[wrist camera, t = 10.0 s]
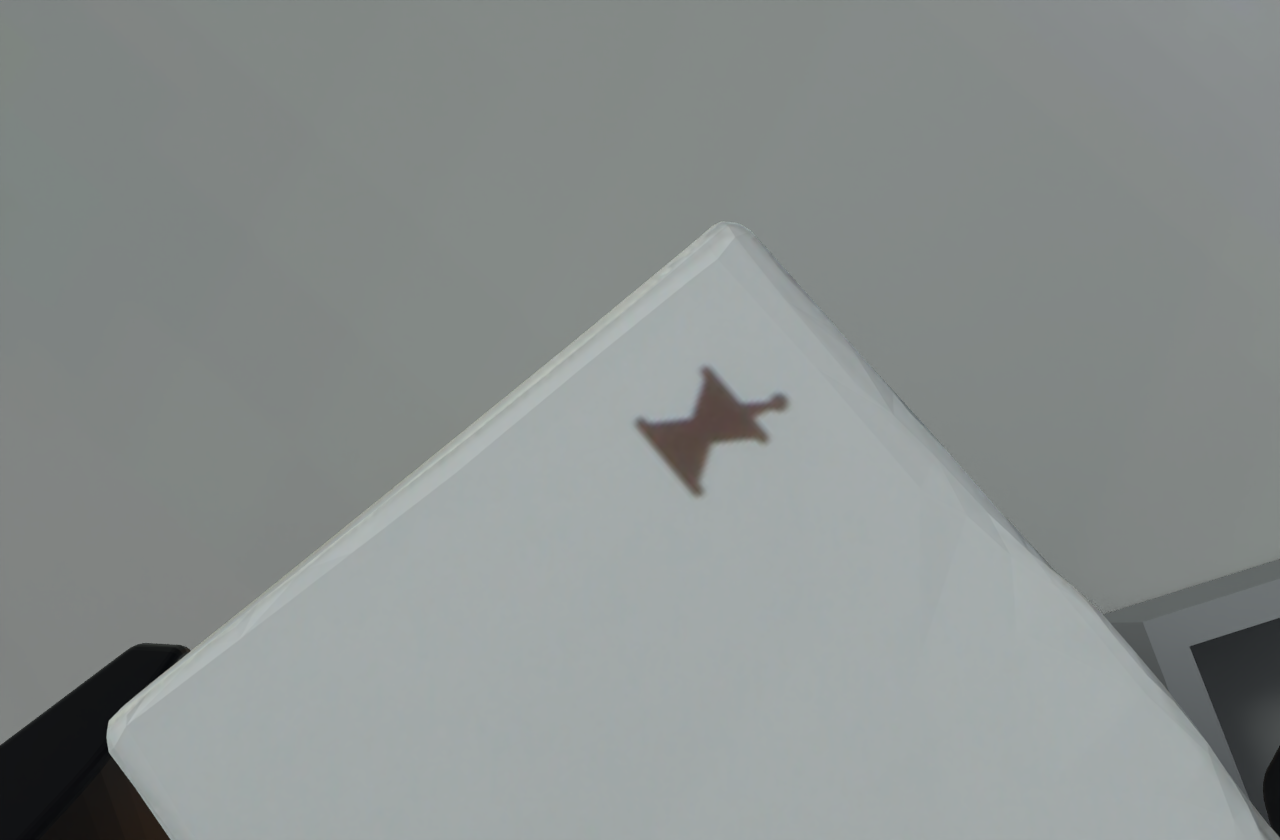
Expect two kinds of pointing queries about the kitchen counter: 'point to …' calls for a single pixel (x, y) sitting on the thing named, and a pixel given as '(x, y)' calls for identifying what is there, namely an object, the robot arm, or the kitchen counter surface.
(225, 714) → the skincare box
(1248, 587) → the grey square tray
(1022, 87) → the kitchen counter surface
